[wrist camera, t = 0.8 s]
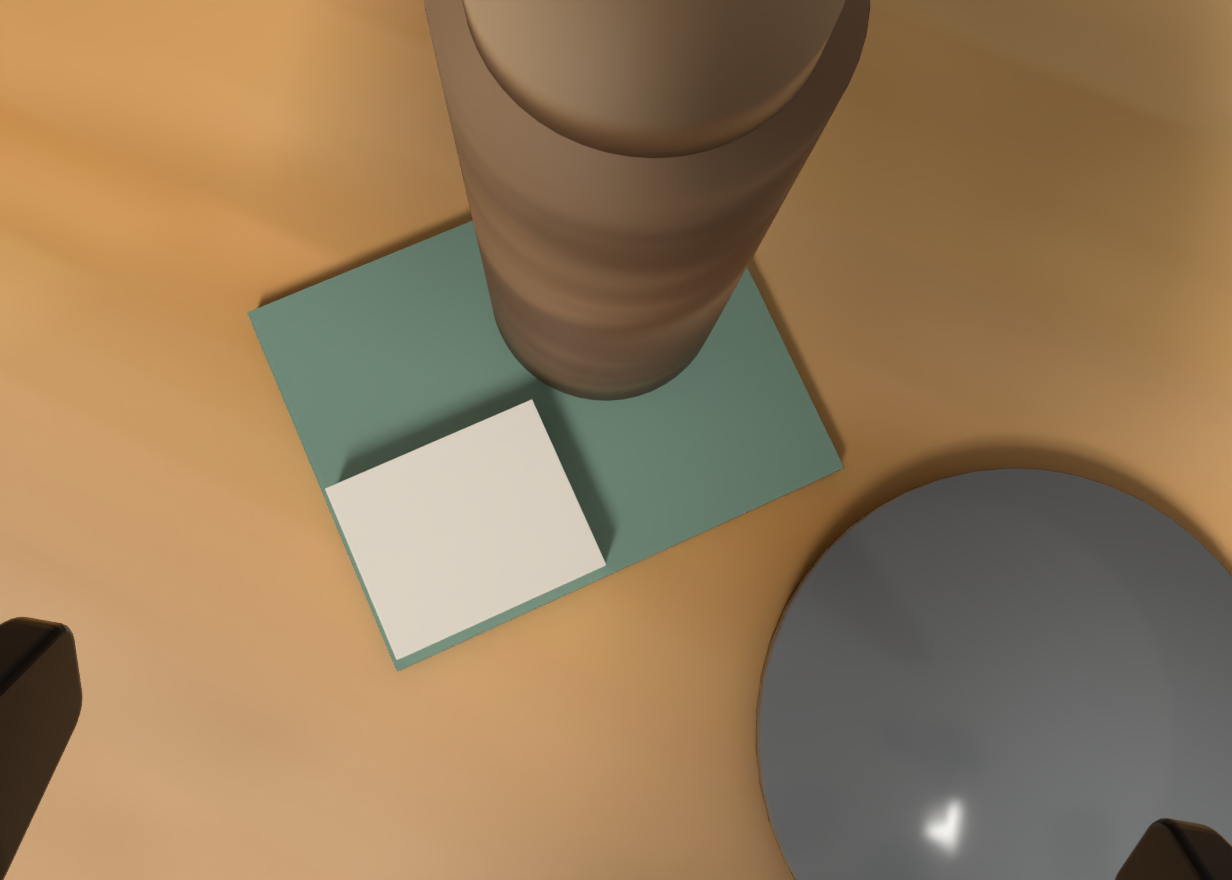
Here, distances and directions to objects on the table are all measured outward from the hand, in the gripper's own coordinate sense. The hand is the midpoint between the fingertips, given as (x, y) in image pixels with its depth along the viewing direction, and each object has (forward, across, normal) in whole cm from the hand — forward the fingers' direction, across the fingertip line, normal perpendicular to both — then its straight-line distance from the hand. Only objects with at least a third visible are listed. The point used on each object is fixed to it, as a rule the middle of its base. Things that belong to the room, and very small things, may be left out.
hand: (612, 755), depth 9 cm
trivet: (+10, -9, +8) cm, 16 cm away
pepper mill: (+15, +1, +2) cm, 15 cm away
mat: (+13, +2, +4) cm, 14 cm away
